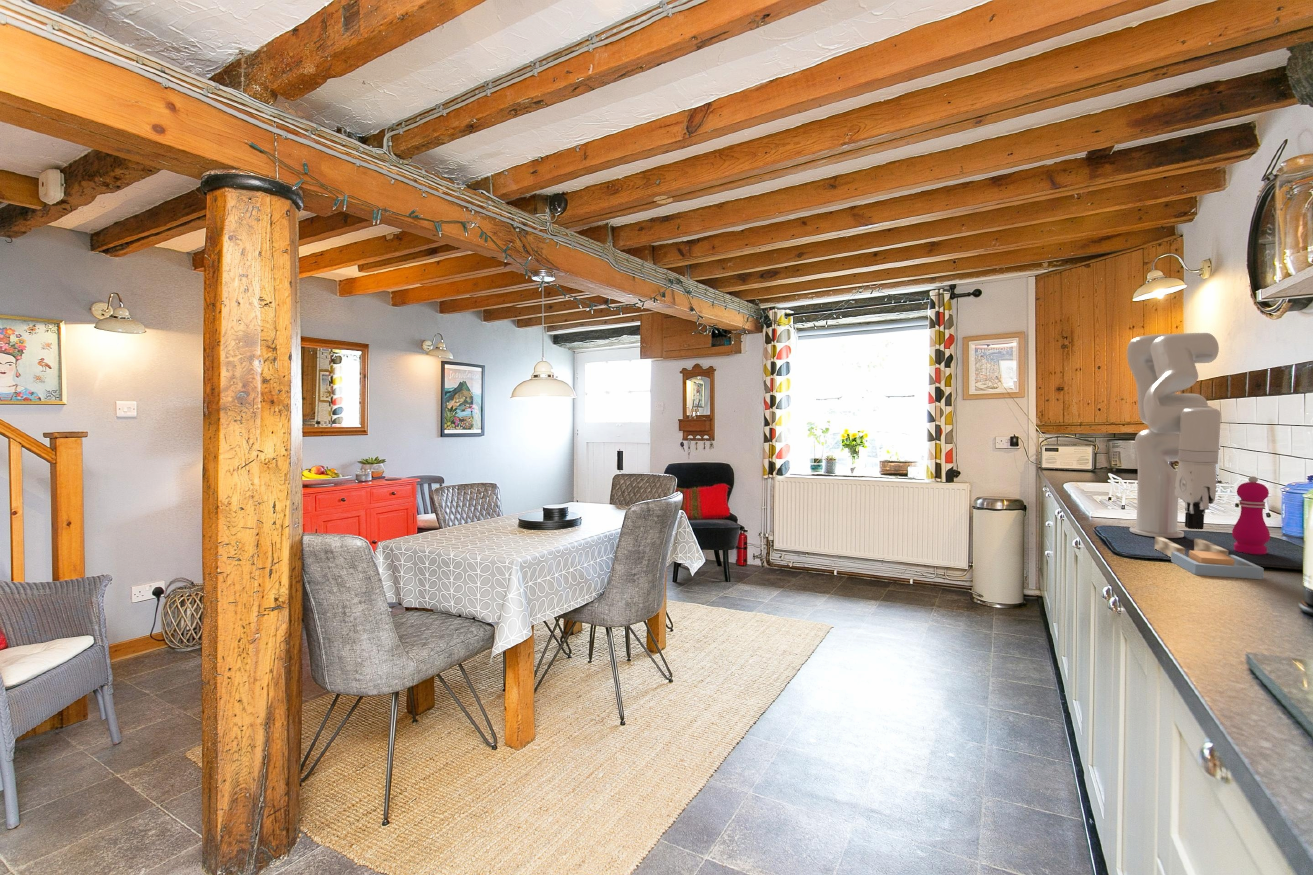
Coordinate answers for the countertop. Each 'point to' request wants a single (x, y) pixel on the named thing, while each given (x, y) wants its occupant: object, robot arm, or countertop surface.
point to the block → (1210, 558)
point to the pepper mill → (1251, 519)
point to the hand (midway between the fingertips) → (1193, 528)
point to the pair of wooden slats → (1170, 547)
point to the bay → (1219, 567)
